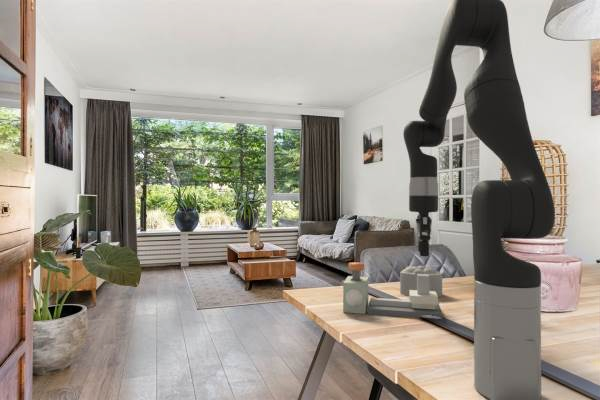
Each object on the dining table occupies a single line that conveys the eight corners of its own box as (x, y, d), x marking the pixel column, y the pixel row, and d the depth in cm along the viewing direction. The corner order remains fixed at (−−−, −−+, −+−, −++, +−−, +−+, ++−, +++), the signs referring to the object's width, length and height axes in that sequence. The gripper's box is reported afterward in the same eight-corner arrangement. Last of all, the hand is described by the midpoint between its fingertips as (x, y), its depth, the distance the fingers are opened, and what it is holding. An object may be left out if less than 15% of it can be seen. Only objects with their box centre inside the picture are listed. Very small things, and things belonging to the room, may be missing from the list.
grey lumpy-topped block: (403, 288, 133) (403, 263, 133) (443, 292, 128) (443, 266, 128) (398, 295, 123) (398, 268, 123) (441, 299, 118) (441, 271, 118)
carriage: (438, 310, 98) (438, 278, 98) (410, 308, 100) (410, 276, 100) (435, 304, 105) (435, 273, 105) (409, 302, 107) (409, 272, 107)
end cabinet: (365, 314, 101) (365, 284, 101) (343, 312, 103) (343, 282, 103) (368, 304, 111) (368, 277, 111) (348, 302, 113) (348, 275, 113)
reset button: (363, 288, 105) (363, 265, 105) (347, 288, 106) (347, 264, 106) (364, 285, 109) (365, 262, 109) (349, 284, 110) (349, 262, 110)
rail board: (442, 319, 97) (442, 308, 97) (367, 313, 101) (367, 302, 101) (438, 309, 106) (438, 298, 106) (370, 304, 111) (370, 294, 111)
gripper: (440, 193, 95) (440, 258, 95) (435, 194, 109) (435, 251, 109) (409, 193, 97) (409, 257, 97) (408, 194, 111) (408, 250, 111)
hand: (423, 254), depth 103 cm, fingers open, 8 cm apart
